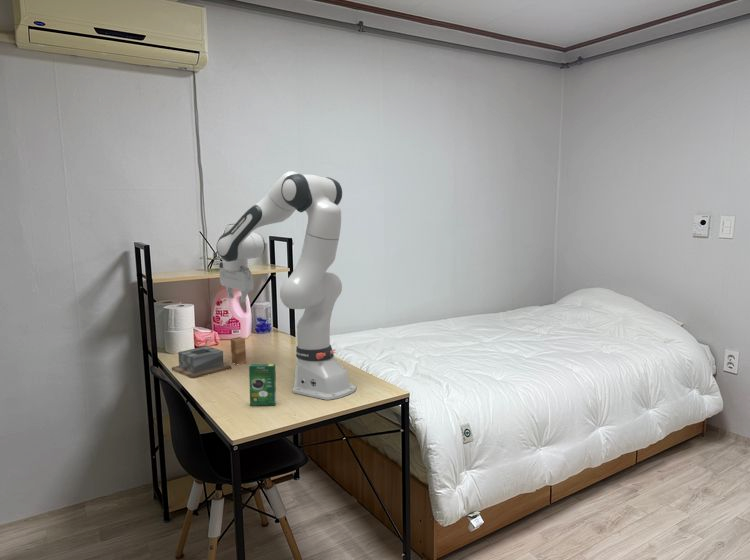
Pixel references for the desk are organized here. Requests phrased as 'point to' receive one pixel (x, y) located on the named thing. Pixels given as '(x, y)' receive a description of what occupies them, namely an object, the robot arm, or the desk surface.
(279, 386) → the desk surface
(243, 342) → the peg
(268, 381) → the coffee box
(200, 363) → the hole block
